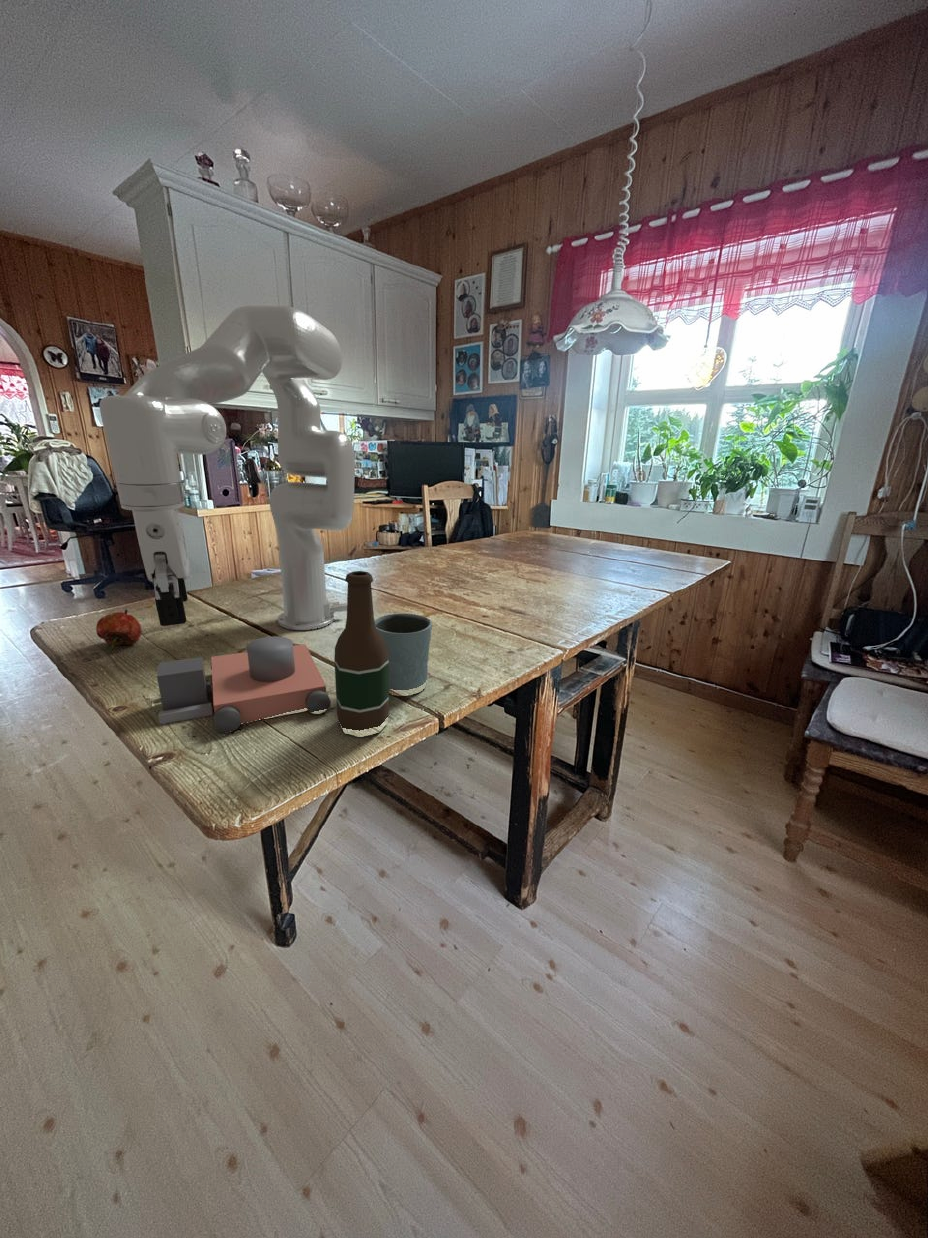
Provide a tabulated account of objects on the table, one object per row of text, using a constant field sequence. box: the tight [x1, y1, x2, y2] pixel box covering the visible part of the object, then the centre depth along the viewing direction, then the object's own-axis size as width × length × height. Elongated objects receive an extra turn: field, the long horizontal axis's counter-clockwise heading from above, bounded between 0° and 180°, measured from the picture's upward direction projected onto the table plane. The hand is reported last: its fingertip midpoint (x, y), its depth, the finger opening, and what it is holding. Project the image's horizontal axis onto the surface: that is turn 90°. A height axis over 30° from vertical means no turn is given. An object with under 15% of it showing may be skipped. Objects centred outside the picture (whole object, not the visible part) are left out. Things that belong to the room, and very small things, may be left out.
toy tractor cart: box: [157, 635, 332, 734], centre depth 79 cm, size 24×21×9 cm
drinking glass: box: [374, 613, 433, 690], centre depth 85 cm, size 10×10×12 cm
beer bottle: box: [333, 570, 390, 731], centre depth 70 cm, size 8×8×24 cm
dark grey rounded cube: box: [156, 656, 210, 711], centre depth 76 cm, size 6×5×7 cm
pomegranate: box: [95, 609, 143, 655], centre depth 96 cm, size 7×7×10 cm
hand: (175, 612), depth 72 cm, fingers open, 9 cm apart
